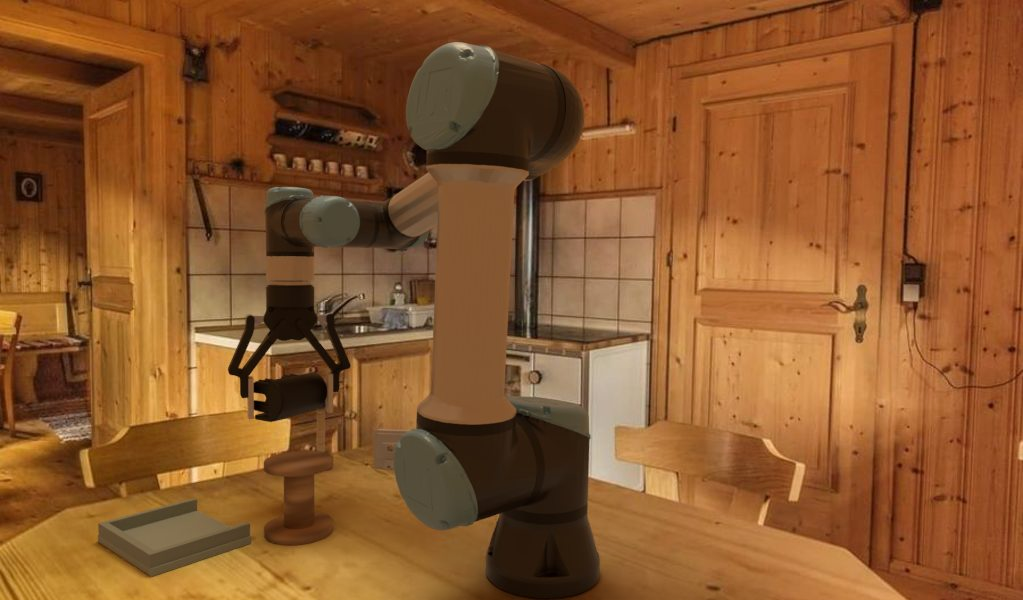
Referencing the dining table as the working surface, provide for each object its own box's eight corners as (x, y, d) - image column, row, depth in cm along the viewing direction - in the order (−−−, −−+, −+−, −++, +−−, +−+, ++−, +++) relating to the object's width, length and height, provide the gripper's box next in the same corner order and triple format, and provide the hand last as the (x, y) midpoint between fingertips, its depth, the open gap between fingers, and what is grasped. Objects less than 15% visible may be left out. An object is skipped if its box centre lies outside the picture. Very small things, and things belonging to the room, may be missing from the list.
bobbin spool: (347, 530, 105) (347, 459, 105) (289, 551, 98) (288, 474, 97) (307, 514, 112) (307, 447, 111) (250, 532, 104) (250, 460, 103)
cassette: (372, 469, 136) (372, 430, 136) (375, 466, 138) (375, 428, 138) (433, 471, 136) (433, 432, 135) (434, 468, 137) (435, 430, 137)
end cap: (282, 425, 108) (282, 382, 108) (251, 419, 112) (250, 378, 111) (327, 413, 117) (327, 373, 117) (297, 408, 121) (297, 369, 120)
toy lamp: (335, 470, 135) (335, 385, 134) (311, 473, 133) (311, 387, 132) (328, 463, 139) (328, 381, 138) (305, 467, 137) (304, 383, 136)
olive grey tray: (251, 543, 100) (251, 524, 100) (151, 576, 89) (150, 555, 89) (193, 514, 111) (193, 497, 111) (97, 541, 100) (97, 522, 100)
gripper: (358, 282, 122) (358, 404, 123) (209, 282, 111) (210, 415, 113) (368, 284, 115) (368, 413, 116) (210, 284, 105) (212, 425, 106)
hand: (290, 414), depth 114 cm, fingers closed on end cap, 12 cm apart
